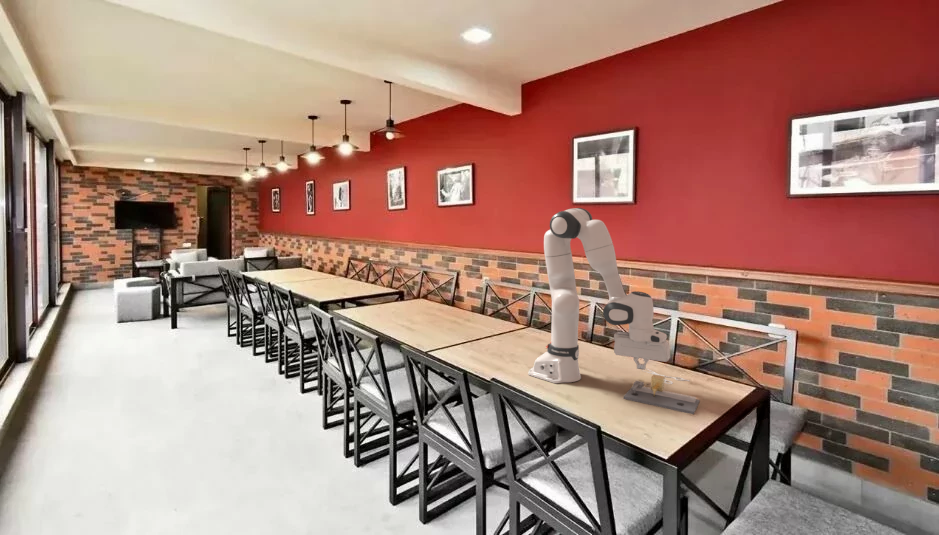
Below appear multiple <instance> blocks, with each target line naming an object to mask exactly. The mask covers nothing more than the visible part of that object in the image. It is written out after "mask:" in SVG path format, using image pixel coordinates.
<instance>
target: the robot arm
mask: <svg viewBox="0 0 939 535" xmlns="http://www.w3.org/2000/svg"><path fill="white" fill-rule="evenodd" d="M576 238H578V240H580V241H581V244H582V247H583V251H584V254H585V257H586V260H587V262H588V264H589V266H590V268H591V269H593V270H594V271H596V272H598V274H600V276H601V277H602V279H603V281H604V285H605V287H606V290H607V294H608V297H609V298H608V302H607V303H606V305H605V306H604V307H603V310H602V316H603V318H604V320H605V321H606V322H607V323H608V324H610V325H612V326H623V325H628V331H617V332H615V333H614V334H613V340H614V344H613V345H614V346H613V353H614V354H615V355H616V356H622V357H623V356H624V357H628V358H633V361H634V364H636V370H641V371H642V370H643V371H646V369H647V366H646V365H647V364H648V362H649V360H651V361H658V362H664V363H667V362H668V361H669V360H670V358H671V351H670V345H669V342H668V341H667V338H668V336H667V334H666V332H665V333H664V332H661V331H659V330H657V329H655V328H654V324H653V319H654V301H653V298H652V296H651V295H650V294H649V293H646V292H643V291H639V290H638V291H636V290H634V291H631V292H630V293H628V294H627V293H626V291H625V289H624V286H623V283H622V279H621V275H620V274H619V270H618V263H617V258H616V257H617V256H616V252H615V246H614V243H613V240H612V237H611V234H610V231H609V230H608V227H607V226H606V224H605V223H604V221H602V220H601V219H593V216H592V213H590V212H589V210H587V209H585V208H583V207H576V208H568V209H565V210H561V211H558V212H557V213H555V214H554V215H552V217H551V218H550V221H549V229H548V230H547V231H545V233H544V236H543V253H544V259H545V266H546V272H547V279H548V285H549V292H550V296H551V328H550V330H551V332H550V333H551V334H550V335H551V336H550V337H551V338H550V339H551V340H550V343H548V344H547V345H545V349H547V350H546V351H545V352H544V353H542V354H540V355H539V356H538V357H537V358H536V359H535V360H534V364H533V367H531V368H530V369H529V370H528V372H527V375H529V376H530V377H531V376H532V377H534V378H537V379H541V380H543V381H546V382H550V383H551V384H552V383H553V384H561V383H572V382H573V383H574V382H577V381H580V380H581V379H582V375H581V373H580V371H581V370H580V366H579V357H580V348H579V344H578V342H579V339H578V338H579V337H578V336H579V319H580V318H579V317H580V299H579V296H578V290H577V282H576V275H575V268H574V260H573V253H572V248H571V241H572V240H573V239H576ZM639 359H642V360H643V362H644V363H640V361H639Z"/></svg>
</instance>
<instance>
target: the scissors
mask: <svg viewBox="0 0 939 535" xmlns="http://www.w3.org/2000/svg"><path fill="white" fill-rule="evenodd" d="M647 370H648V371H646V370H642V369H641V371H642V372H645V373H648V374H651V375H660V376H665V382H664V384H667V385H673V383H674V382H673V381H671V380H667V379H666V378H669V379H674V380H675V381H680V382H684V381H685V382H690V381H691V380H688V379H685V378H682V377H674V376H667V375H664V374H660V373H657V372H655V371H653V370H651V369H649V368H647Z"/></svg>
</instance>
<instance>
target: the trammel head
mask: <svg viewBox="0 0 939 535" xmlns="http://www.w3.org/2000/svg"><path fill="white" fill-rule="evenodd" d="M660 375H661V374H660ZM660 375H654V374H652V375H651V380H650V381H651V382H650V384H651V385H650V388H651V390H652V391H654V393H653V397H655V392H656V391H660V392H662V391H665V379H666V377H665V376H666V375H664V376H660Z"/></svg>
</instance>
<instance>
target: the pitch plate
mask: <svg viewBox="0 0 939 535" xmlns="http://www.w3.org/2000/svg"><path fill="white" fill-rule="evenodd" d="M653 393H654V391H652V390H651V387H649V386H645V382H644V381H640V380H635V381H634V382H633V384H632V386H631V388H629V390H627V391H626V393H625V394H623V400H627V401H632V402H636V403H637V402H638V403H642V404H646V405H649V406H654V407H659V408H663V409H667V410H673V411H676V412H681V413H686V414H690V415H694V414H695V412H696V410H697V408H698V406H699V404H700V401H701V400H700V399H698V398H696V396H693V395H692V396H691V395H688V394H687V395H686V394H681V393H677V392H673V391H667V390H663V391H662V392H660V391H656V392H655V397H653Z"/></svg>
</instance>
